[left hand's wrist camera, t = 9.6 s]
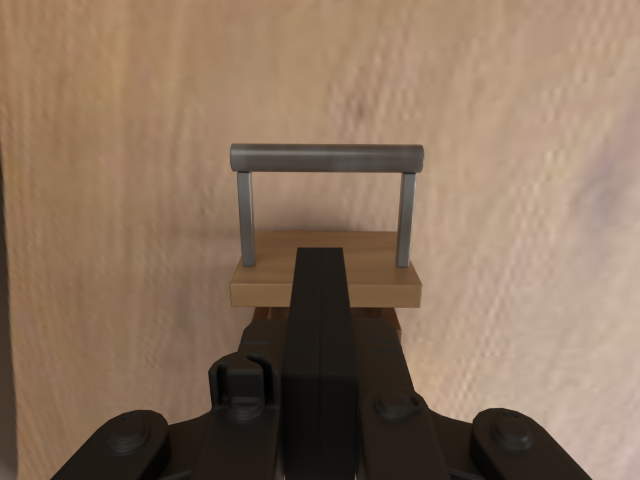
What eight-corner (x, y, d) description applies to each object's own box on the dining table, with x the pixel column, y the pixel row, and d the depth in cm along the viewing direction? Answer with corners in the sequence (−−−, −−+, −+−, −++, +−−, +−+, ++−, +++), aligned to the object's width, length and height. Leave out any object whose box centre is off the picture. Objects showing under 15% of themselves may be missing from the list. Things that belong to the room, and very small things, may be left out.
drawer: (247, 130, 24) (219, 151, 18) (404, 131, 24) (436, 152, 18) (262, 432, 32) (247, 528, 25) (382, 433, 32) (398, 529, 25)
